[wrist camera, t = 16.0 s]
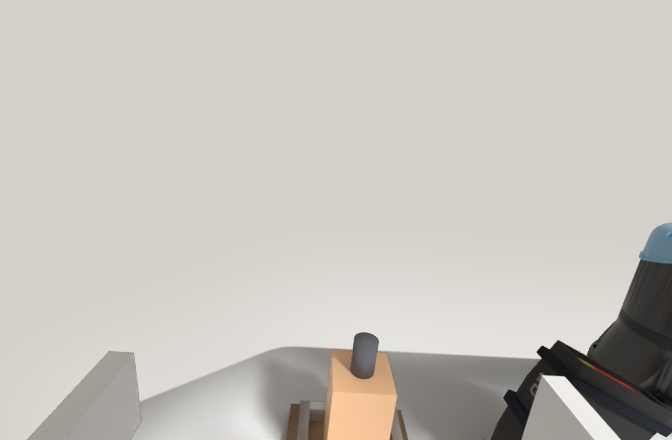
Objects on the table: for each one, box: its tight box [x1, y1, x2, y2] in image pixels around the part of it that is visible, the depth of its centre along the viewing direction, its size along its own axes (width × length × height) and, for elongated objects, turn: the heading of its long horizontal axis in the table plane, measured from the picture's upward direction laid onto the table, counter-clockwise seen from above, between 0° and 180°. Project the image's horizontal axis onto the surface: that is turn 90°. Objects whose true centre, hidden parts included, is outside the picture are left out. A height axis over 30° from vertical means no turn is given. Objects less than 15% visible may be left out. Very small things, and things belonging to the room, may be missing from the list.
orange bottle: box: [323, 332, 397, 440], centre depth 30 cm, size 5×5×13 cm
